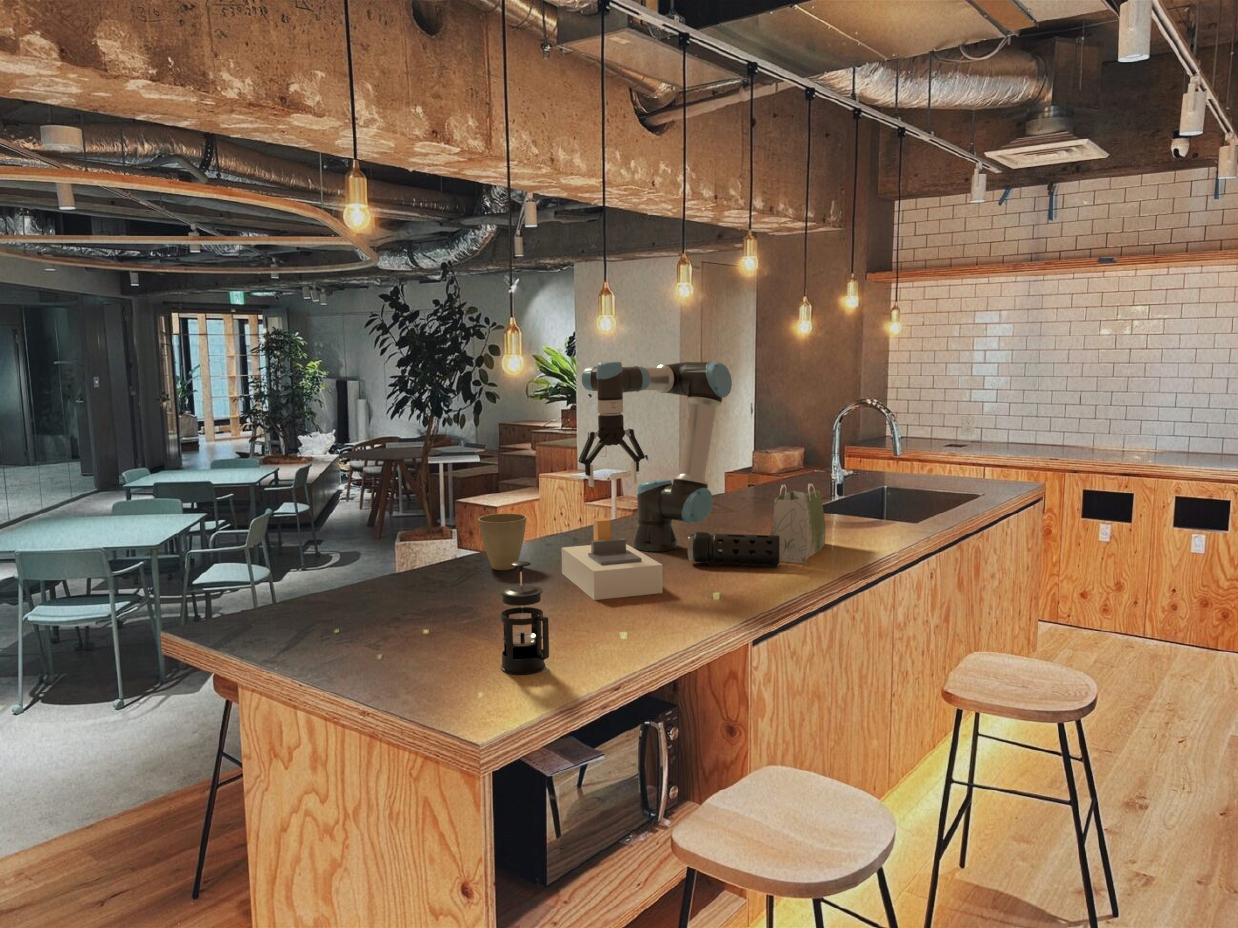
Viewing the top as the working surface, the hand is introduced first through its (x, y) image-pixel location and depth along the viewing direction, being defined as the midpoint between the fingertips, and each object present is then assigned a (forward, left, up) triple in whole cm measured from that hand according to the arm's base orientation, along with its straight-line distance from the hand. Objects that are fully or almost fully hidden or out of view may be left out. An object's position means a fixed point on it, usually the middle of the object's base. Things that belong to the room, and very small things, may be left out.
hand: (612, 484), depth 271 cm
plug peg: (+3, -5, -26) cm, 26 cm away
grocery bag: (-6, +67, -28) cm, 72 cm away
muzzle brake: (+4, +38, -28) cm, 47 cm away
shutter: (+15, -5, -19) cm, 24 cm away
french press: (+71, -45, -27) cm, 88 cm away
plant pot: (-20, -30, -27) cm, 45 cm away
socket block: (+10, -5, -27) cm, 29 cm away
